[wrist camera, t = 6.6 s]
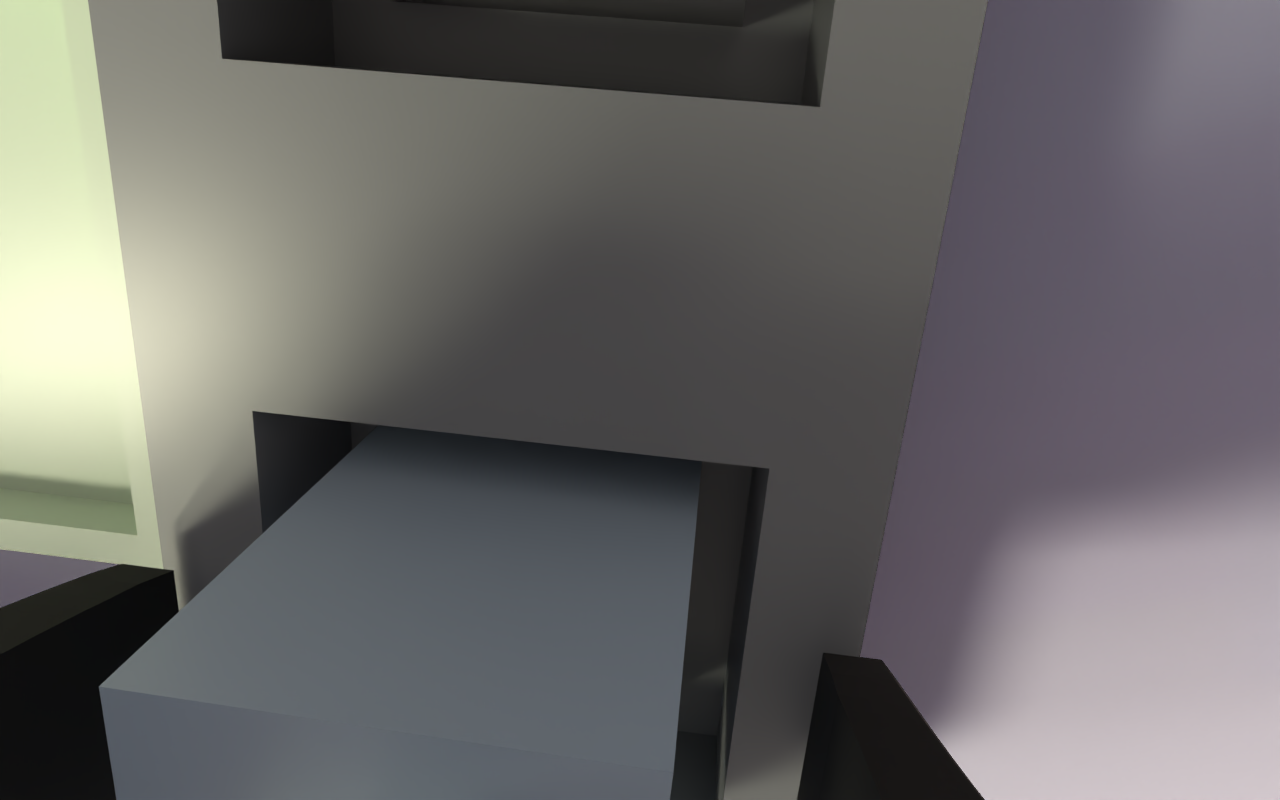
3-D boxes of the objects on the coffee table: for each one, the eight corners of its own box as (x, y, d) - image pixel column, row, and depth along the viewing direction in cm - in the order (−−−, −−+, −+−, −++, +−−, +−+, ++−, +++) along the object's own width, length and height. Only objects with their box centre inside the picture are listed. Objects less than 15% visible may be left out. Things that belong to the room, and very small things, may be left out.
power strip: (307, 716, 14) (203, 868, 12) (208, -669, 9) (-51, -1042, 6) (786, 782, 14) (800, 958, 11) (1033, -656, 8) (1195, -1065, 5)
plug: (409, 646, 13) (9, 1323, 6) (408, 397, 12) (-118, 887, 4) (673, 684, 13) (593, 1440, 6) (704, 434, 11) (652, 1018, 4)
